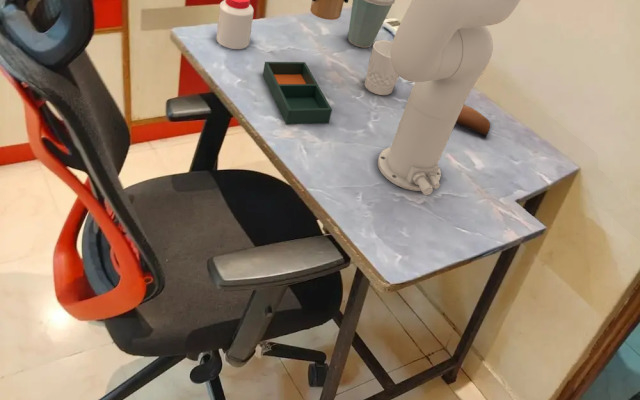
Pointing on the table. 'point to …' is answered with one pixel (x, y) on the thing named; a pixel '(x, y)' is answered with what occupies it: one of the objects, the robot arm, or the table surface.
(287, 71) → the divided tray
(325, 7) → the wooden cup
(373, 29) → the disposable coffee cup
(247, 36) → the pill bottle
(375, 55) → the white cup
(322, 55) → the table surface
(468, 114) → the sunglasses case
